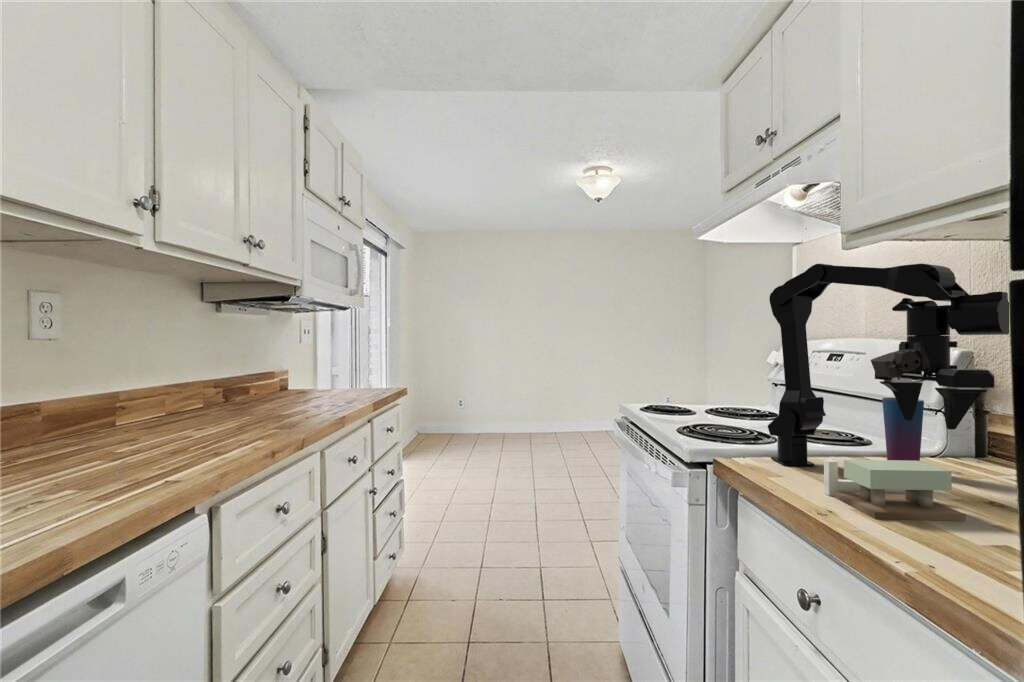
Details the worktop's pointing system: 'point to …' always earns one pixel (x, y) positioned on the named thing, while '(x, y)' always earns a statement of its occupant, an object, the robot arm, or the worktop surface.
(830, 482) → the u-shaped frame
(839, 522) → the worktop surface
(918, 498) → the peg stand
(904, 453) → the cup
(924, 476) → the board
